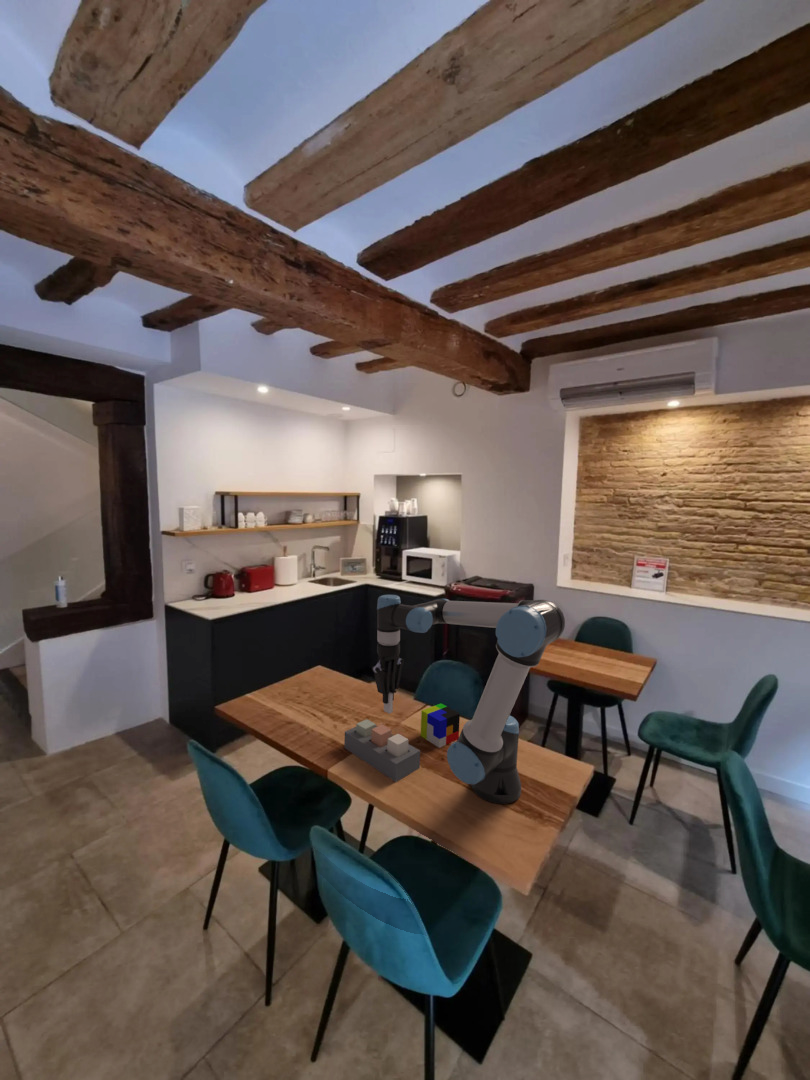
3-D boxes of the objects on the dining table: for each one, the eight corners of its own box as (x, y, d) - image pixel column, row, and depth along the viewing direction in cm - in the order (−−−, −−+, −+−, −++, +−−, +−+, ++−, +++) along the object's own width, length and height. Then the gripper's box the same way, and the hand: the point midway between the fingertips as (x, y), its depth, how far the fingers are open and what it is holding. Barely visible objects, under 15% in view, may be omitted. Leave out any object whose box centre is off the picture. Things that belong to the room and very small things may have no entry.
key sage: (375, 744, 160) (375, 724, 159) (364, 749, 157) (365, 728, 156) (366, 739, 163) (366, 719, 163) (355, 743, 160) (356, 723, 159)
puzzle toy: (439, 748, 162) (440, 721, 161) (420, 736, 169) (421, 710, 168) (458, 739, 168) (459, 713, 167) (439, 727, 176) (440, 703, 175)
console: (419, 767, 149) (420, 750, 149) (395, 782, 142) (396, 764, 141) (368, 736, 168) (368, 721, 167) (344, 747, 160) (344, 731, 159)
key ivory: (407, 761, 149) (408, 739, 148) (397, 766, 145) (397, 744, 145) (397, 754, 152) (398, 733, 151) (387, 760, 149) (387, 738, 148)
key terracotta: (390, 750, 154) (391, 729, 154) (380, 756, 151) (381, 734, 150) (381, 745, 158) (382, 724, 157) (370, 750, 154) (371, 729, 154)
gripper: (394, 635, 156) (394, 702, 158) (366, 643, 147) (365, 714, 149) (410, 640, 151) (409, 709, 153) (381, 649, 142) (381, 722, 144)
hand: (388, 711), depth 151 cm, fingers closed
